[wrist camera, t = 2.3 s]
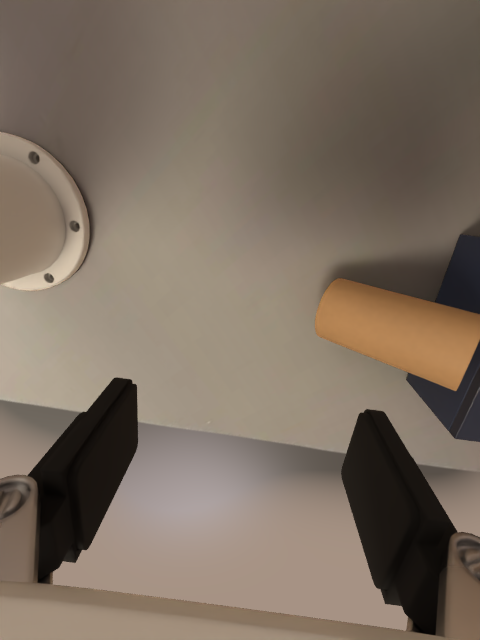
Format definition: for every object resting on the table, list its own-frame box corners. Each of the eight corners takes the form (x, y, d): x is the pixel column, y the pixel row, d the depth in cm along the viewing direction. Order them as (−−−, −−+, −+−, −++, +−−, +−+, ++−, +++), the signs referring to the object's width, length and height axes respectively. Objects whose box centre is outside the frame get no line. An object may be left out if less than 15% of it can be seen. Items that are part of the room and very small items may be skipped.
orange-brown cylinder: (302, 325, 28) (328, 389, 19) (313, 270, 26) (349, 310, 17) (417, 338, 28) (503, 409, 19) (437, 285, 26) (543, 333, 17)
